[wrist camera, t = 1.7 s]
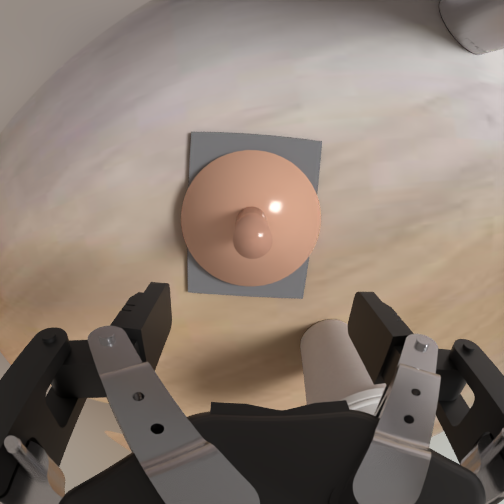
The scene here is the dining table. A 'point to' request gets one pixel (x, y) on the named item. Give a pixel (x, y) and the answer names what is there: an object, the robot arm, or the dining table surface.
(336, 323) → the coffee cup
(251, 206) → the lid
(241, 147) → the mat
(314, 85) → the dining table surface
